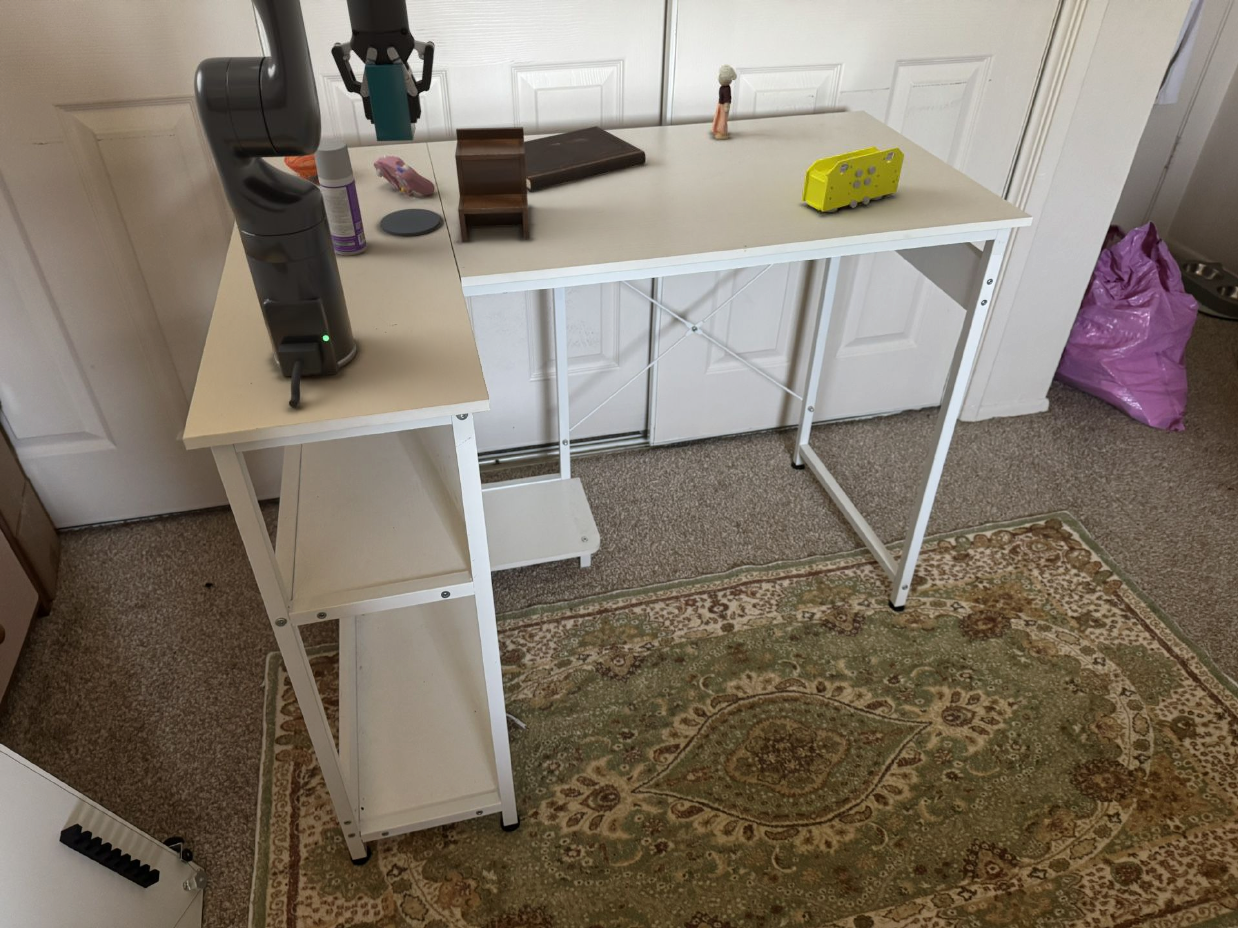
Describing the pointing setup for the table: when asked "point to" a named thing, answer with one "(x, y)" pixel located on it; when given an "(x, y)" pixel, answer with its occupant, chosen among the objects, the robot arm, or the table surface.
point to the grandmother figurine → (723, 102)
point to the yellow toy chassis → (852, 178)
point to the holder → (390, 102)
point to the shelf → (491, 178)
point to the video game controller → (402, 176)
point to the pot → (302, 165)
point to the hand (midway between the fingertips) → (394, 121)
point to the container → (340, 197)
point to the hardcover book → (577, 157)
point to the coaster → (410, 222)
